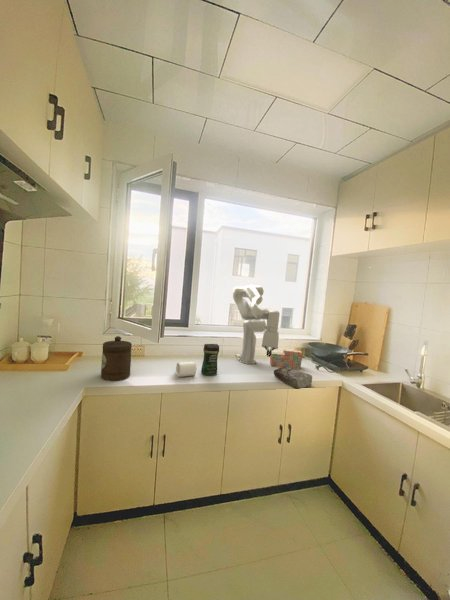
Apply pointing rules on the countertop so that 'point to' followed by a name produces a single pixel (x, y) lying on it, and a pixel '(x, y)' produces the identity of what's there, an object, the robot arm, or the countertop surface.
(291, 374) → the stone block
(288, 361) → the stack of blocks
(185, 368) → the mug
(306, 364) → the countertop surface
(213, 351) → the coffee jar
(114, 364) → the wooden container
